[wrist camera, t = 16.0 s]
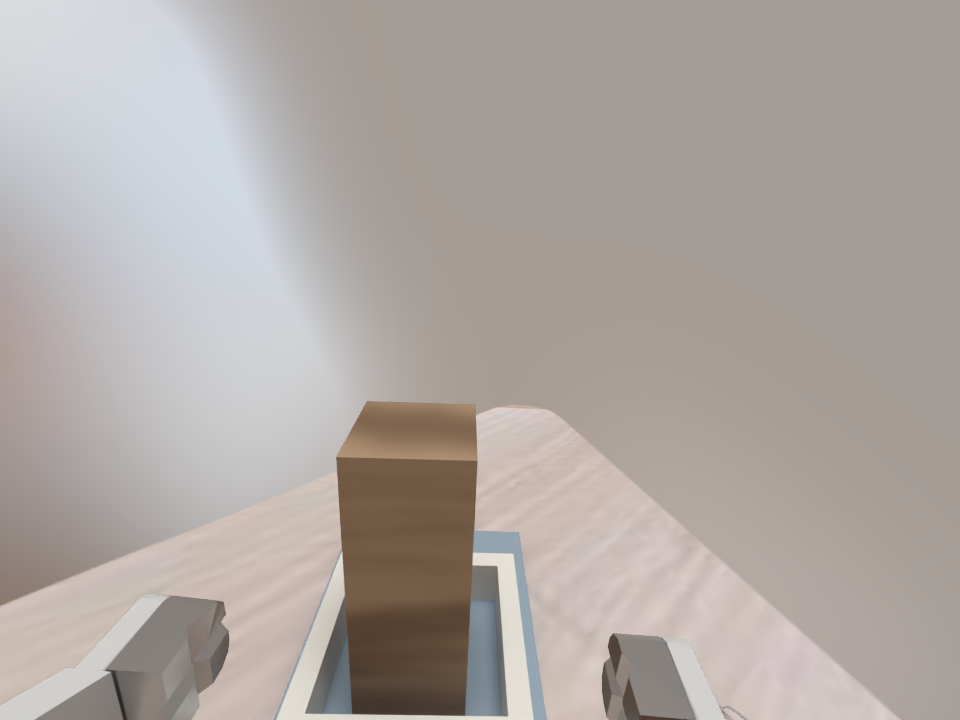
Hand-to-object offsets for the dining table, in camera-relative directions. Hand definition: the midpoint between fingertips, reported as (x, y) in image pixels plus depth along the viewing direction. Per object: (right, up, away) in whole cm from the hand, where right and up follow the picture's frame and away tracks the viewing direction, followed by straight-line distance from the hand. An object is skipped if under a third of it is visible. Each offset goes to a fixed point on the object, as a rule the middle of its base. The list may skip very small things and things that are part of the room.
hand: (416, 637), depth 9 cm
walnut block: (-2, -9, +13) cm, 16 cm away
